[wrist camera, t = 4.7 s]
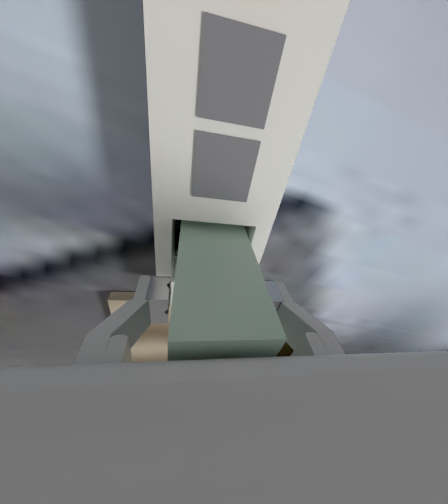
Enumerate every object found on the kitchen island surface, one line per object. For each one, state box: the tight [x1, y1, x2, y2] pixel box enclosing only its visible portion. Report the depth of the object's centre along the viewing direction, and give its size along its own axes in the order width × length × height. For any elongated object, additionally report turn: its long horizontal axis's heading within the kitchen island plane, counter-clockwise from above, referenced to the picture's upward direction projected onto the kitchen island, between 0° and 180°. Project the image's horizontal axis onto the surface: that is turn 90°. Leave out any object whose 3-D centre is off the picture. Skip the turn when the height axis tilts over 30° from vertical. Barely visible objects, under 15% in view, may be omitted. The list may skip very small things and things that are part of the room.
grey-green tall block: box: [168, 220, 287, 361], centre depth 11 cm, size 4×4×12 cm
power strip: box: [143, 0, 350, 305], centre depth 11 cm, size 20×7×4 cm, turn 171°
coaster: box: [107, 292, 172, 362], centre depth 22 cm, size 12×12×1 cm
